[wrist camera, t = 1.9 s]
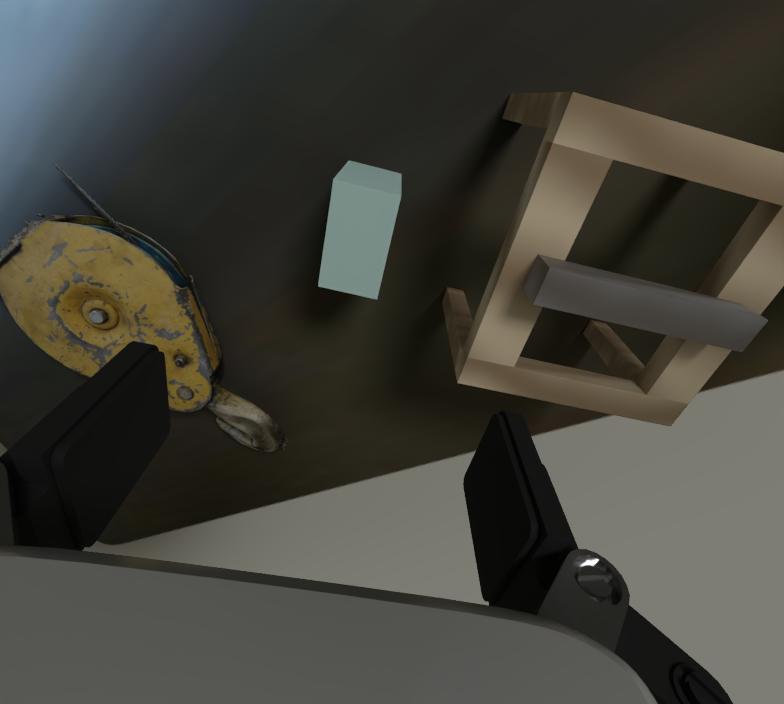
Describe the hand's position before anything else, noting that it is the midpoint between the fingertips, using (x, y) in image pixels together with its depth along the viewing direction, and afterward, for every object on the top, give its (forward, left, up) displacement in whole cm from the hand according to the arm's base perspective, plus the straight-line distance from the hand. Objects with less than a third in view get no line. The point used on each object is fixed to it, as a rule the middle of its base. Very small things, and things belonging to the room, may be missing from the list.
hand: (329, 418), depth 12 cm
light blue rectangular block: (0, -1, -24) cm, 24 cm away
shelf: (-2, +15, -24) cm, 28 cm away
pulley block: (+16, -16, -25) cm, 34 cm away
